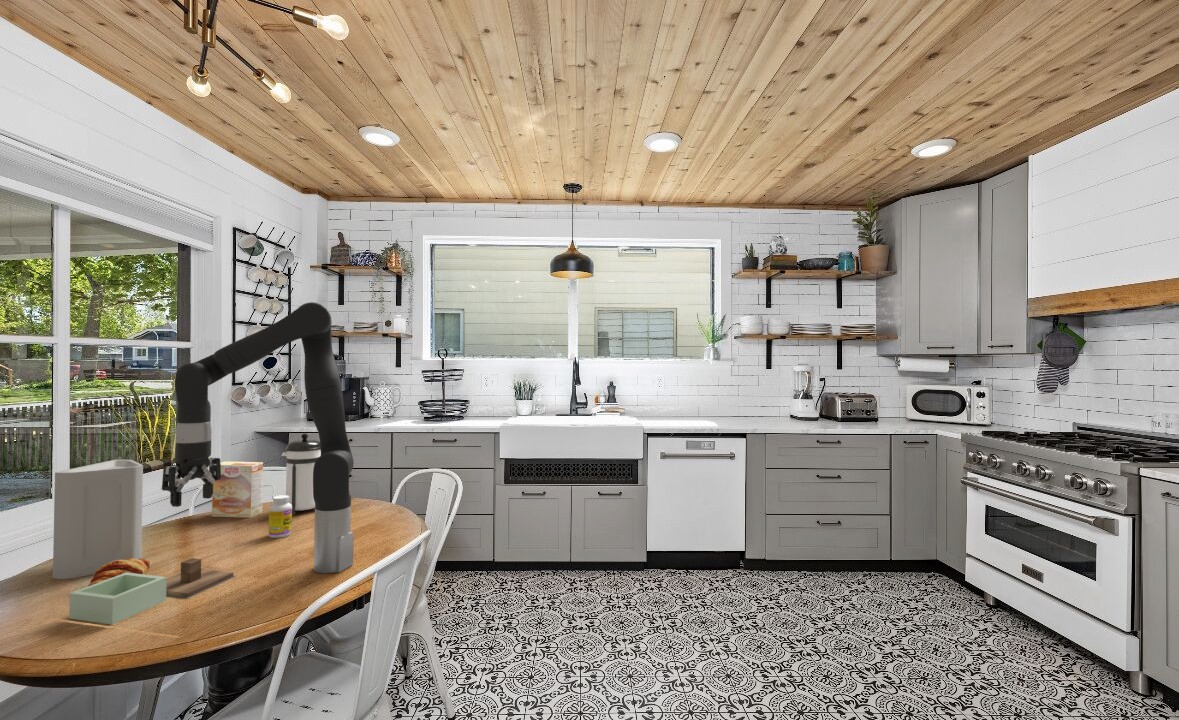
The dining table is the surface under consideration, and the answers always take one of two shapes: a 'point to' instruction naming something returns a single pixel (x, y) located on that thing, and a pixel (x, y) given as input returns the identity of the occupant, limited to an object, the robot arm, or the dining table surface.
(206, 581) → the lid
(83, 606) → the green box
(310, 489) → the coffee press
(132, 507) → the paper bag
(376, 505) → the dining table surface
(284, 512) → the supplement bottle
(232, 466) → the coffeecake box
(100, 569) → the croissant
